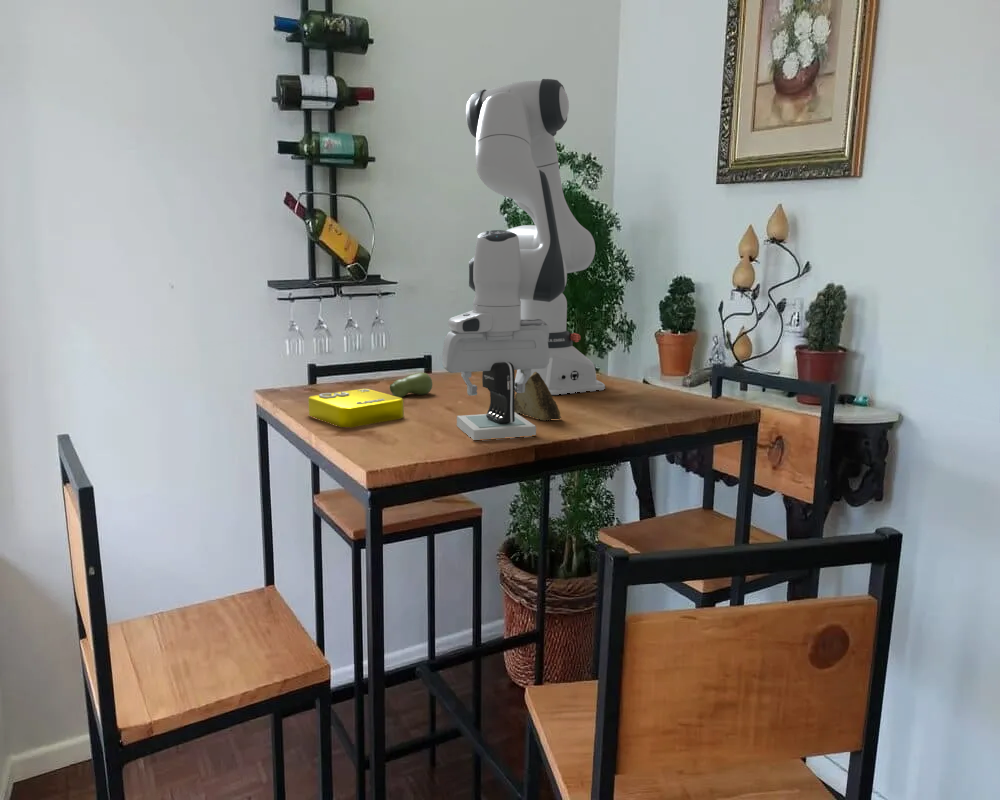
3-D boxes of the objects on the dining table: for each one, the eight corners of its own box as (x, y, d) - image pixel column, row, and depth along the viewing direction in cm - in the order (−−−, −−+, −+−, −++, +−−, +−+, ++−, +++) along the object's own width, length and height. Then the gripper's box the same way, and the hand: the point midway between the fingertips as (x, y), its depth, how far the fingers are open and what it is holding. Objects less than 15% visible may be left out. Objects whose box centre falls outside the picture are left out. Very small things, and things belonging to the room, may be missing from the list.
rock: (499, 401, 164) (510, 404, 155) (522, 368, 165) (535, 369, 155) (539, 430, 167) (552, 435, 157) (561, 397, 167) (576, 400, 158)
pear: (433, 372, 179) (391, 382, 176) (437, 394, 181) (395, 404, 178) (426, 368, 184) (385, 377, 181) (430, 389, 186) (389, 399, 183)
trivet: (514, 422, 156) (515, 411, 155) (535, 436, 145) (536, 425, 144) (456, 425, 152) (456, 415, 152) (473, 441, 141) (473, 429, 141)
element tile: (344, 430, 149) (343, 406, 148) (305, 417, 160) (304, 394, 159) (407, 419, 159) (407, 396, 158) (367, 407, 170) (366, 385, 169)
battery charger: (480, 418, 150) (479, 359, 147) (497, 415, 151) (497, 357, 149) (498, 426, 144) (497, 364, 141) (516, 423, 145) (515, 362, 143)
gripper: (543, 317, 150) (541, 387, 153) (439, 319, 144) (440, 393, 147) (555, 320, 144) (553, 393, 147) (448, 323, 138) (448, 399, 141)
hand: (496, 393), depth 147 cm, fingers open, 8 cm apart
